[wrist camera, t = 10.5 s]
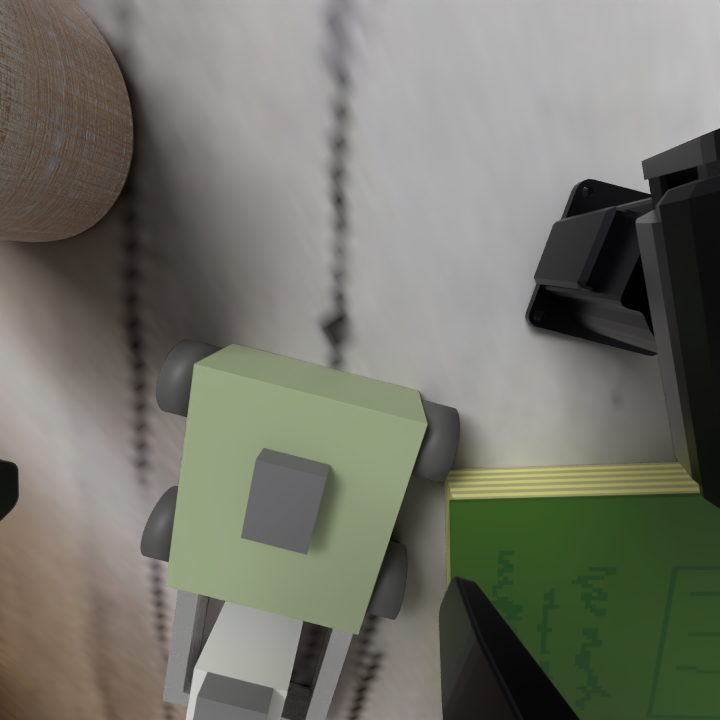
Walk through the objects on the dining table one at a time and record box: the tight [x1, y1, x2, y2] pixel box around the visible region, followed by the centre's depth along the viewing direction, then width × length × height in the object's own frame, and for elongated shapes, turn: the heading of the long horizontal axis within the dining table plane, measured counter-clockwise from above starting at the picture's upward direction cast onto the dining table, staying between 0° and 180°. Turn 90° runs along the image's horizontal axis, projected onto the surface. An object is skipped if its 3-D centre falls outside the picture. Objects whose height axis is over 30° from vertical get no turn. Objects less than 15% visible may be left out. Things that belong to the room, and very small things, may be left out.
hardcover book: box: [444, 462, 720, 720], centre depth 20 cm, size 25×19×4 cm
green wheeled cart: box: [141, 340, 460, 635], centre depth 18 cm, size 13×12×5 cm
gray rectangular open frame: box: [163, 589, 353, 720], centre depth 23 cm, size 10×12×2 cm
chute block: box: [186, 601, 303, 720], centre depth 20 cm, size 4×7×7 cm, turn 166°
